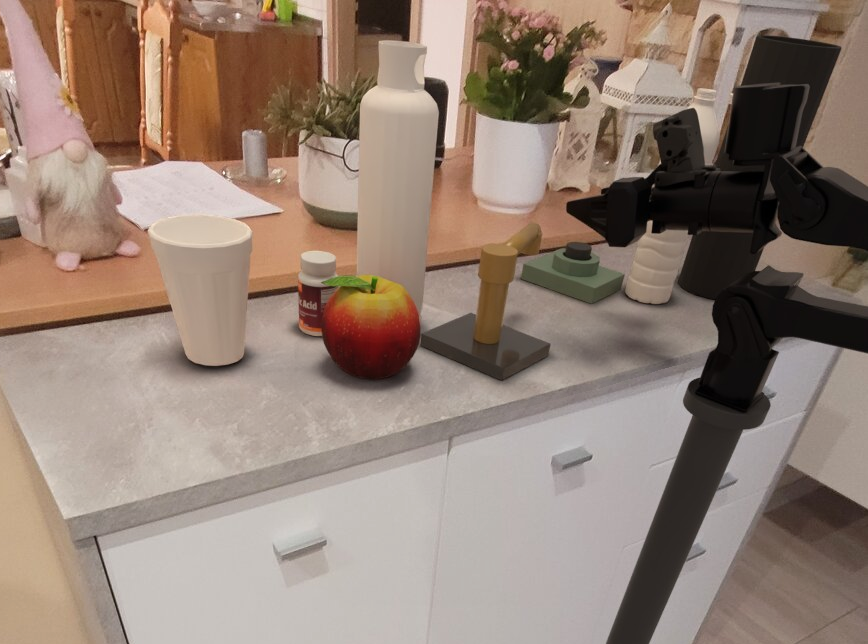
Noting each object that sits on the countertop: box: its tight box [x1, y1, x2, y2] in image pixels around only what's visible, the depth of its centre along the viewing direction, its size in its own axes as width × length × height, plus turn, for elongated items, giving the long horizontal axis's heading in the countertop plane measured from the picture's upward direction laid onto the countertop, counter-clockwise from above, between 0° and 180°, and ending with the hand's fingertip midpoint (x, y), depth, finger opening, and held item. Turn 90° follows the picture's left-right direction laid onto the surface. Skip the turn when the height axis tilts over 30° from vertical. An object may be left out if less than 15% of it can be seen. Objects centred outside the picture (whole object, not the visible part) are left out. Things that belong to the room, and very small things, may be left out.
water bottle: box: [624, 87, 733, 305], centre depth 96 cm, size 9×6×25 cm
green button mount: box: [520, 247, 626, 304], centre depth 104 cm, size 12×9×4 cm
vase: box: [677, 34, 842, 300], centre depth 99 cm, size 10×10×30 cm
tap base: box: [419, 279, 552, 381], centre depth 83 cm, size 12×10×8 cm
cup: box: [147, 213, 254, 367], centre depth 75 cm, size 10×10×13 cm
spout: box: [477, 221, 543, 284], centre depth 84 cm, size 16×4×3 cm, turn 155°
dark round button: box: [564, 241, 593, 261], centre depth 103 cm, size 4×4×2 cm
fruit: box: [321, 274, 422, 380], centre depth 77 cm, size 11×11×10 cm
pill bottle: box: [297, 250, 340, 337], centre depth 84 cm, size 5×5×8 cm
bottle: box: [355, 39, 440, 328], centre depth 79 cm, size 8×8×28 cm
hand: (584, 200), depth 85 cm, fingers open, 9 cm apart
